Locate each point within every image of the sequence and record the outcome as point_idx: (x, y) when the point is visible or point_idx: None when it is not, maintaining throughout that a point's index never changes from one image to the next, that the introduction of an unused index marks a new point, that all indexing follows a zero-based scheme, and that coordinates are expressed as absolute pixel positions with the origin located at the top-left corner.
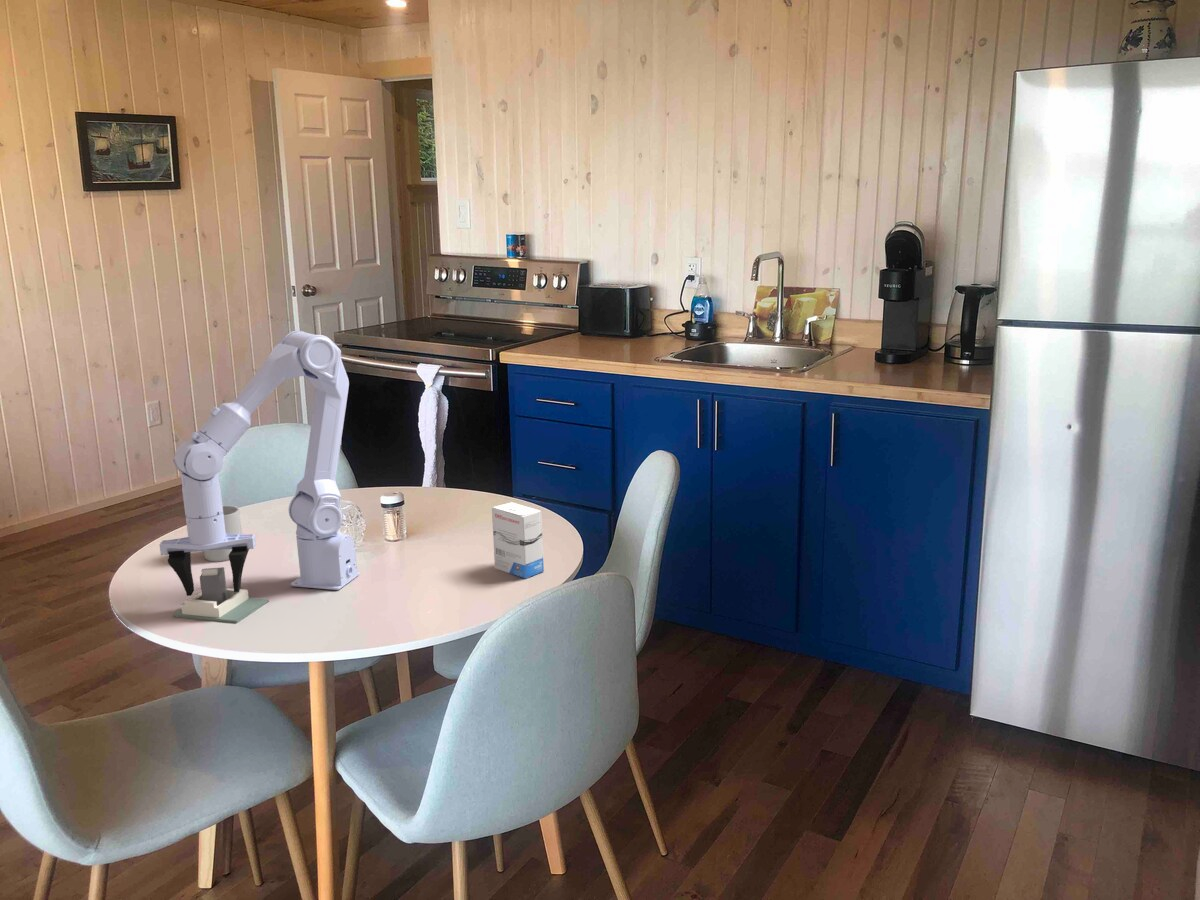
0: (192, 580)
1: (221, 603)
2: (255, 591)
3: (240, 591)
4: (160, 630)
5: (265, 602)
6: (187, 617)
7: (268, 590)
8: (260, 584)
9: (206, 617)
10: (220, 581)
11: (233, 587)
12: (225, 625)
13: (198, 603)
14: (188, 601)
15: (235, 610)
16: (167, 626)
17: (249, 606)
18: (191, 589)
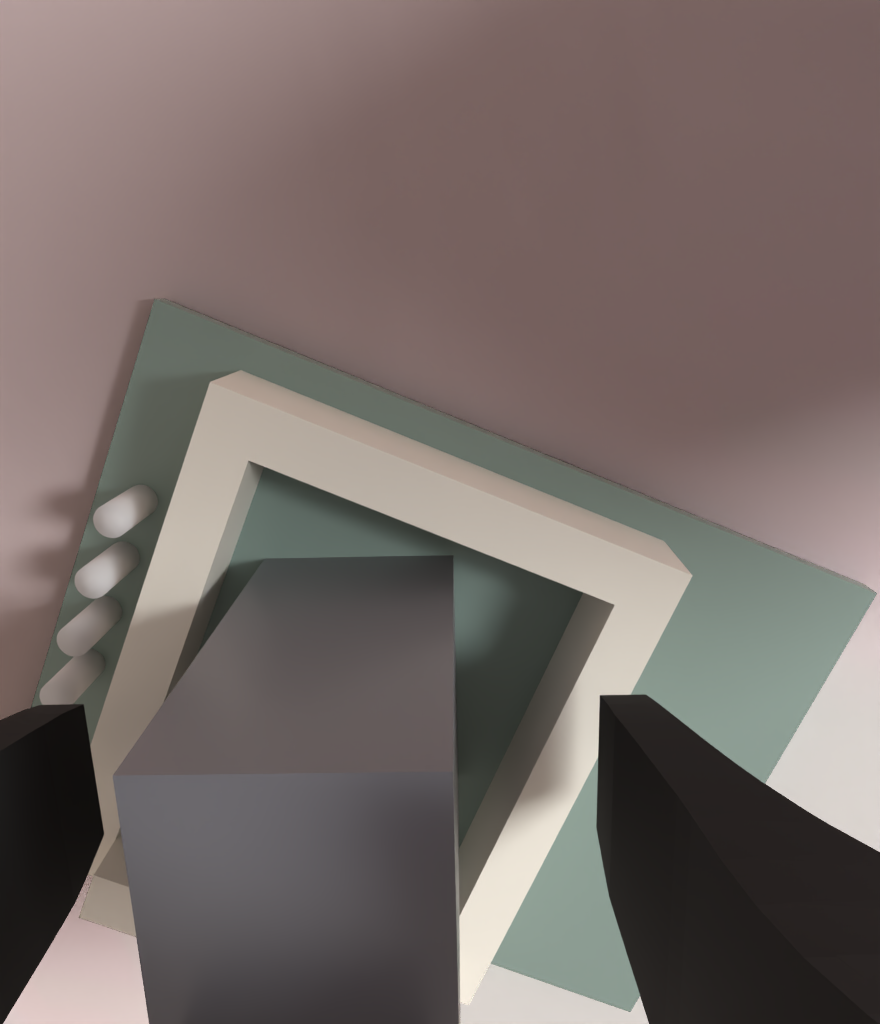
0: (4, 780)
1: (470, 896)
2: (692, 253)
3: (613, 607)
4: (34, 1012)
5: (841, 636)
6: None
7: (841, 249)
8: (727, 5)
9: None
10: (459, 976)
11: (608, 887)
12: (538, 1013)
13: None
14: (127, 926)
15: (580, 807)
16: (58, 953)
17: None
18: (70, 831)
